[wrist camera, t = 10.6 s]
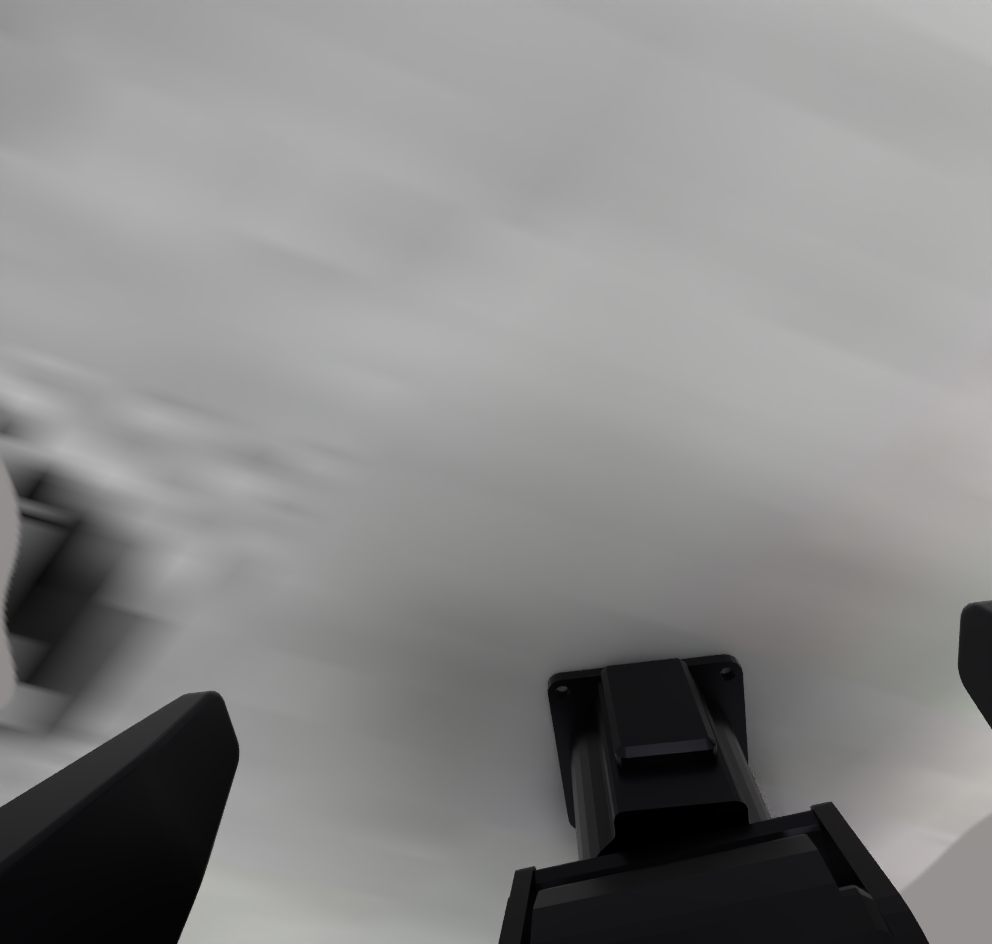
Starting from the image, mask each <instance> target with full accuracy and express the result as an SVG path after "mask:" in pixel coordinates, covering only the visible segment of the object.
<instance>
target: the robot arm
mask: <svg viewBox="0 0 992 944" xmlns="http://www.w3.org/2000/svg"><path fill="white" fill-rule="evenodd" d="M724 668H731V670H730V671H729V672H728V673H725V674H723V673H720V672H721V671H722V670H723V669H724ZM958 670H959V675H960V678H961V681H962V683H963V685H964V687H965V689H966V690H967V692H968V693H969V695H970V696H971V698H972V700H973V701H974V703H975V704H976V706H977V707H978V709H979V710H980V712H981V713H982V715H983V716H984V718H985V720H986V721H987V723H988V724H989V726H990V727H991V729H992V600H991V601H983V602H974V603H970V604H968V605H967V606H965V607H964V608H963V610H962V613H961V618H960V635H959V652H958ZM560 686H566V687H567V688H568V689H567V690H566V691H563V692H562V691H558V690H557V688H558V687H560ZM548 697H549V703H550V709H551V715H552V721H553V727H554V733H555V739H556V745H557V751H558V757H559V763H560V770H561V776H562V782H563V788H564V794H565V800H566V806H567V812H568V818H569V822H570V824H571V825H572V826H573V827H574V828H576V833H577V845H578V857H579V861H576V862H571V863H566V864H562V865H557V866H553V867H548V868H543V869H539V870H536V868H535V867H534V866H533V867H529V868H524V869H519V870H516V871H515V875H514V880H513V884H512V889H511V893H510V897H509V898H508V902H507V906H506V911H505V916H504V920H503V925H502V930H501V934H500V939H499V944H929V942H928V941H927V939H926V937H925V935H924V933H923V931H922V929H921V928H920V926H919V924H918V922H917V921H916V919H915V917H914V916H913V914H912V912H911V910H910V909H909V907H908V906H907V904H906V903H905V902H904V900H903V898H902V897H901V895H900V894H899V892H898V891H897V890H896V888H895V887H894V886H893V884H892V883H891V882H890V880H889V879H888V878H887V876H886V875H885V873H884V872H883V871H882V869H881V868H880V867H879V865H878V864H877V863H876V861H875V860H874V859H873V857H872V856H871V854H870V853H869V852H868V850H867V849H866V848H865V846H864V845H863V844H862V842H861V841H860V839H859V838H858V837H857V835H856V834H855V833H854V831H853V830H852V829H851V827H850V826H849V825H848V823H847V822H846V820H845V819H844V818H843V816H842V815H841V814H840V812H839V811H838V810H837V808H836V807H835V806H834V804H833V803H832V802H826V803H821V804H817V805H812V806H811V810H810V811H805V812H801V813H796V814H792V815H787V816H782V817H778V818H773V819H771V817H770V815H769V812H768V810H767V808H766V805H765V803H764V801H763V798H762V796H761V794H760V791H759V789H758V787H757V784H756V782H755V780H754V777H753V775H752V773H751V770H750V768H749V766H748V751H747V734H746V718H745V701H744V684H743V672H742V668H741V666H740V664H739V662H738V661H737V659H736V658H735V657H733V656H731V655H714V656H706V657H697V658H688V659H678V658H675V659H666V660H658V661H649V662H640V663H631V664H622V665H614V666H607V667H606V668H600V669H591V670H582V671H573V672H564V673H558V674H555V675H553V676H552V677H551V678H550V680H549V681H548ZM238 761H239V744H238V740H237V737H236V734H235V731H234V728H233V725H232V722H231V720H230V717H229V714H228V711H227V708H226V705H225V702H224V700H223V698H222V696H221V695H220V694H219V693H217V692H215V691H206V692H197V693H188V694H185V695H183V696H181V697H179V698H177V699H176V700H174V701H172V702H171V703H169V704H168V705H166V706H164V707H163V708H161V709H159V710H158V711H156V712H155V713H153V714H151V715H150V716H148V717H146V718H145V719H143V720H142V721H140V722H138V723H137V724H135V725H133V726H132V727H130V728H129V729H127V730H125V731H124V732H122V733H120V734H119V735H117V736H116V737H114V738H112V739H111V740H109V741H107V742H106V743H104V744H103V745H101V746H99V747H98V748H96V749H94V750H93V751H91V752H90V753H88V754H86V755H85V756H83V757H81V758H80V759H78V760H77V761H75V762H73V763H72V764H70V765H68V766H67V767H65V768H64V769H62V770H60V771H59V772H57V773H55V774H54V775H52V776H51V777H49V778H47V779H46V780H44V781H42V782H41V783H39V784H38V785H36V786H34V787H33V788H31V789H29V790H28V791H26V792H25V793H23V794H21V795H20V796H18V797H16V798H15V799H13V800H12V801H10V802H8V803H7V804H5V805H3V806H2V807H0V944H177V943H178V940H179V938H180V936H181V933H182V931H183V928H184V926H185V923H186V921H187V918H188V916H189V914H190V911H191V909H192V906H193V904H194V901H195V898H196V896H197V893H198V891H199V888H200V885H201V883H202V880H203V877H204V874H205V871H206V868H207V865H208V862H209V859H210V855H211V852H212V849H213V845H214V842H215V839H216V835H217V832H218V829H219V825H220V822H221V819H222V815H223V812H224V809H225V806H226V802H227V799H228V796H229V792H230V789H231V786H232V782H233V779H234V776H235V772H236V769H237V766H238Z"/></svg>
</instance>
